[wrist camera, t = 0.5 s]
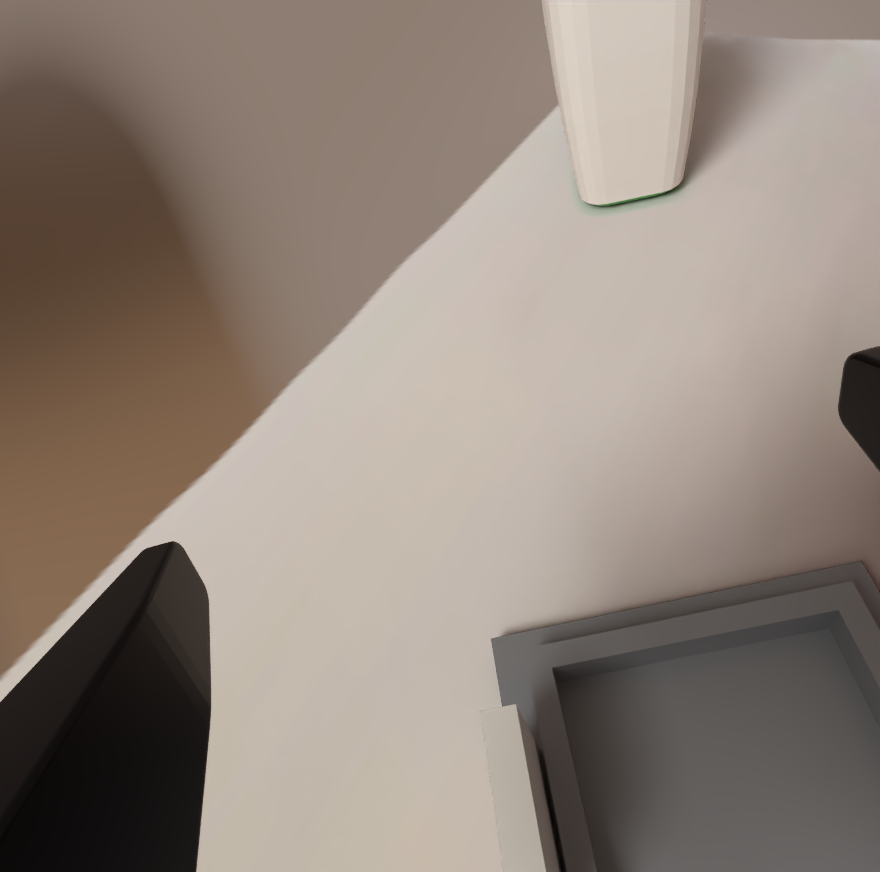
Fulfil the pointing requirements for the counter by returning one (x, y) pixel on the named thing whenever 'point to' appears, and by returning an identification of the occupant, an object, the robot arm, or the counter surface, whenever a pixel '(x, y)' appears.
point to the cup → (626, 91)
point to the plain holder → (695, 734)
